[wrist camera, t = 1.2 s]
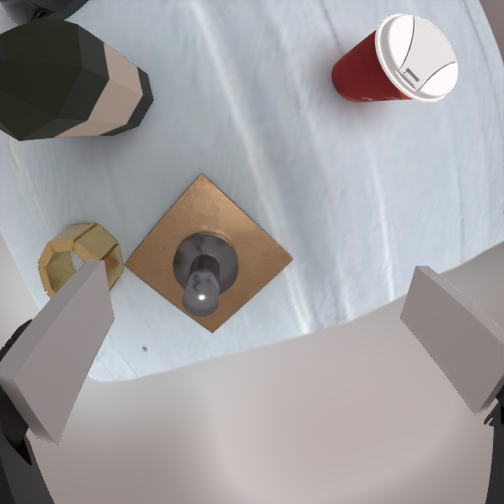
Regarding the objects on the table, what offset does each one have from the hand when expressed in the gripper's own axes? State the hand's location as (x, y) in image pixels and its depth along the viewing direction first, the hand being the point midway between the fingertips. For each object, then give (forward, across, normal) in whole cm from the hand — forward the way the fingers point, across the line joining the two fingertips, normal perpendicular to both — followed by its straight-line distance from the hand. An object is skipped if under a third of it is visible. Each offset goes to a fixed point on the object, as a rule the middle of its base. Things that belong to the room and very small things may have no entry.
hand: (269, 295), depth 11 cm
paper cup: (+22, +12, +14) cm, 29 cm away
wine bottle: (+22, -14, +11) cm, 28 cm away
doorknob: (+22, -4, -8) cm, 23 cm away
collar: (+22, -19, -8) cm, 30 cm away
